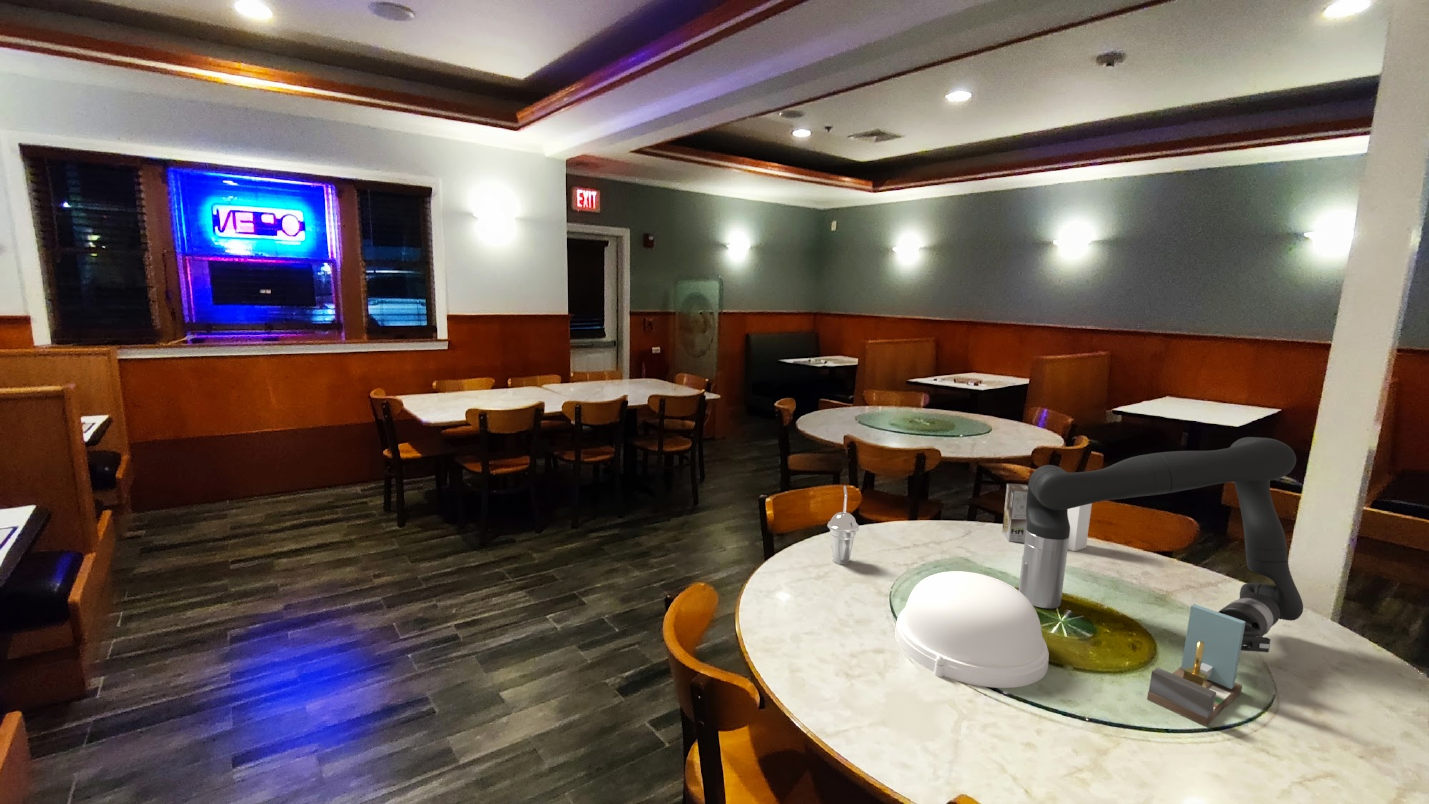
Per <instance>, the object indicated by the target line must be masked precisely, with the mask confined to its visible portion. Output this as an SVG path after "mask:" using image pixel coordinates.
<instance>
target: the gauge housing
mask: <svg viewBox="0 0 1429 804" xmlns="http://www.w3.org/2000/svg"><path fill="white" fill-rule="evenodd" d="M1183 676H1184V669H1182V668H1181V666H1180V667H1179V668H1177V669H1176V670H1175V671H1174V672H1172V673H1171V672H1169V671H1168V670H1165V669H1163V668H1160V667H1159V666H1158V667H1156V668H1154V669H1153V670H1152V671H1151V675H1150V682H1149V688H1148V692H1147V698H1146V700H1148V701H1150V702H1152V703H1154V704H1156V705H1158V706H1160V707H1162V708H1165V709H1167V710H1169V711H1171V712H1173V713H1176V714H1178V715H1180V716H1182V717H1184V718H1186V719H1188V720H1191V721H1192V722H1195V723H1197V724H1199V725H1201V726H1204V727H1207V725H1209V723H1211V722H1212V721H1213V720H1214V719H1215V718H1216V717H1217V716H1218V715H1219V714H1220V713H1221V712H1222V711H1224V709H1225V708H1227V707H1228V705H1230V704H1231V703H1232V702H1233V701H1234V700H1235V699H1236V698H1237V697H1238V696H1239V695H1240V694H1241V693H1242V690H1243V685H1242V684H1240V683H1238V682H1236V681H1235V684H1234V687H1233V688H1232V689H1230V688H1227V687H1225V686H1223V685H1220V684H1218V683H1215V682H1213V681H1211V680H1208V679H1207V683H1206V687H1203V686H1200V685H1198V684H1196V683H1193V682H1191V681H1189V680H1186V679H1184V678H1183ZM1231 701H1232V702H1231Z"/></svg>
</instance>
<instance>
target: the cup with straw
mask: <svg viewBox="0 0 1429 804" xmlns="http://www.w3.org/2000/svg"><path fill="white" fill-rule="evenodd" d="M843 493H844V498H843V499H844V500H843V511H841V512H840V511H839V512H837V513H835V514H834V515H833V516H832V518H831V519H830V520H829V521H828V522H827V525H826V526H827V528H828V529H829V531H830V536H831V540H830V541H831V554H832V555H831V556H832V562H833V563H835V564H838V565H847V564H849V563H850V559H851V555H852V550H853V546H854V545H853V544H854V540H855V536H856V533H857V532H858V531H859V530H860V527H859V526H860V525H859V524H858V523H857V522H856V518H855V517H854V516H853V515H852V513H849V512H847V503H848V491H847V486H846V485H844V486H843Z"/></svg>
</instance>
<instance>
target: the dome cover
mask: <svg viewBox="0 0 1429 804" xmlns="http://www.w3.org/2000/svg"><path fill="white" fill-rule="evenodd" d="M894 635H895V640H896V643H897V645H898V646H899V647H900V649H901V650H902V651H903V652H904V653H905V654H906V655H907V656H908V657H909V658H910V659H912V660H913V661H914V662H915V663H917V664H918V665H920V666H922V667H924V668H925V669H927V670H929V671H931V672H933V675H934V676H935V677H938V678H943V677H945V678H948V679H951V680H954V681H956V682H961V683H964V684H968V685H972V686H979V687H986V688H996V689H1012V688H1020V687H1026V686H1029V685H1032V684H1035V683H1036V682H1039V681H1041V680H1042V679H1043V678H1044V677H1045V676H1046V674H1047V672H1048V669H1049V659H1050V658H1049V655H1050V654H1049V648H1048V646H1047V642H1046V640H1045V639H1044V637H1043V633H1042V625H1041V621H1040V617H1039V615H1038V612H1037V611H1036V609H1035V606H1033V605H1032V604H1031V603H1030V601H1029V600H1028V599H1027V598H1026V597H1025V596H1024V595H1023V594H1022V593H1021V592H1020V591H1019V589H1016V588H1015V587H1014V586H1012V585H1010V584H1008V583H1007V582H1005V581H1002V580H1000V579H997V578H995V577H992V576H989V575H987V574H982V573H978V572H971V571H964V570H963V571H961V570H958V571H957V570H954V571H953V570H952V571H941V572H938V573H934V574H932V575H929V576H927V577H925V578H923V579H922V580H920V581H919V582H918V583H917V584H916V585H915V586H914V587H913V589H912V591H911V592H910V594H909V596H908V599H907V601H906V604H905V607H904V608H903V609H902V610H901V611H900V612H899V615H898V616H897V619H896V624H895V630H894Z"/></svg>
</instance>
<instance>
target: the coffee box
mask: <svg viewBox="0 0 1429 804" xmlns="http://www.w3.org/2000/svg"><path fill="white" fill-rule="evenodd" d="M1005 491H1006V492H1005V502H1004V511H1003V520H1002V531H1001V532H1002V533H1003V535H1004V536H1005V538H1006V539H1007V540H1008V542H1013V543H1014V542H1015V543H1022V544H1025V536H1026V527H1027V519H1026V504H1027V492H1028V484H1022V483H1006V490H1005Z"/></svg>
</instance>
